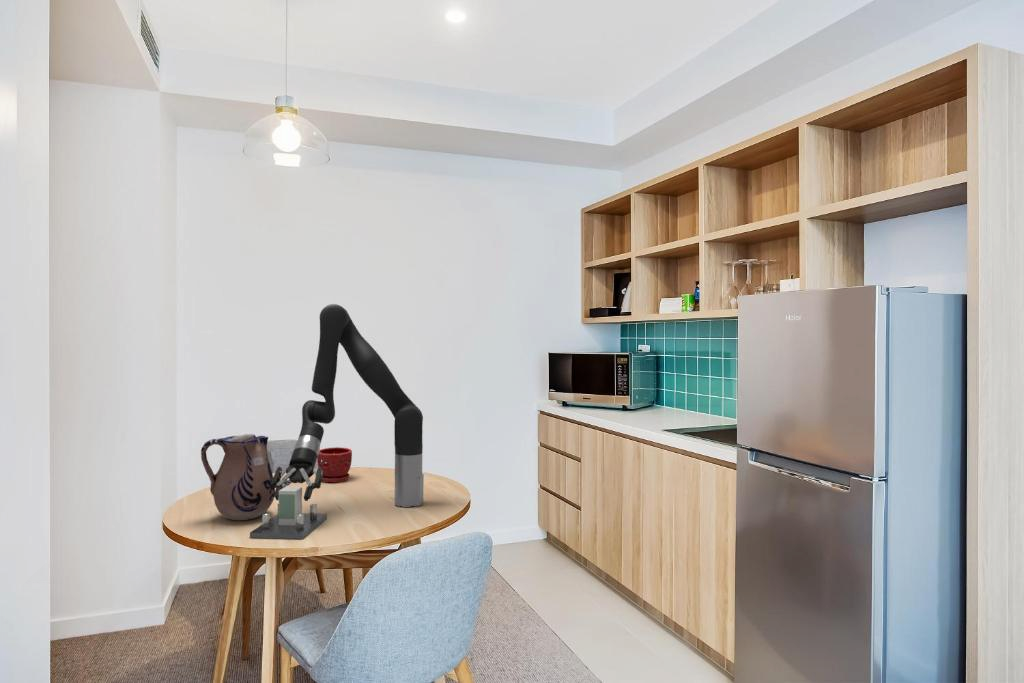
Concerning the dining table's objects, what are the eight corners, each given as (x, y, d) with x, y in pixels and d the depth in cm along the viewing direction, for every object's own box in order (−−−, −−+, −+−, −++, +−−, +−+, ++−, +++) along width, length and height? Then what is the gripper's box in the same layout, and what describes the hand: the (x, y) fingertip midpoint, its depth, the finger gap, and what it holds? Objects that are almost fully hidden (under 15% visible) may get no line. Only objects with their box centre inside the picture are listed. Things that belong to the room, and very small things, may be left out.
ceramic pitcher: (279, 520, 193) (279, 438, 193) (202, 530, 183) (203, 444, 183) (270, 506, 209) (270, 431, 208) (199, 515, 198) (199, 435, 198)
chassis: (326, 518, 195) (326, 501, 195) (302, 539, 175) (302, 519, 175) (279, 517, 196) (279, 499, 196) (249, 538, 176) (249, 518, 176)
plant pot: (310, 481, 245) (310, 450, 245) (336, 475, 256) (337, 446, 256) (332, 486, 238) (332, 454, 238) (358, 479, 249) (359, 449, 249)
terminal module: (301, 520, 188) (302, 487, 188) (295, 525, 183) (295, 491, 183) (285, 520, 188) (285, 486, 188) (278, 525, 183) (278, 491, 183)
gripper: (279, 446, 195) (263, 492, 183) (325, 446, 194) (311, 493, 183) (286, 460, 200) (271, 505, 189) (330, 460, 199) (318, 506, 188)
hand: (291, 499), depth 186 cm, fingers open, 8 cm apart
